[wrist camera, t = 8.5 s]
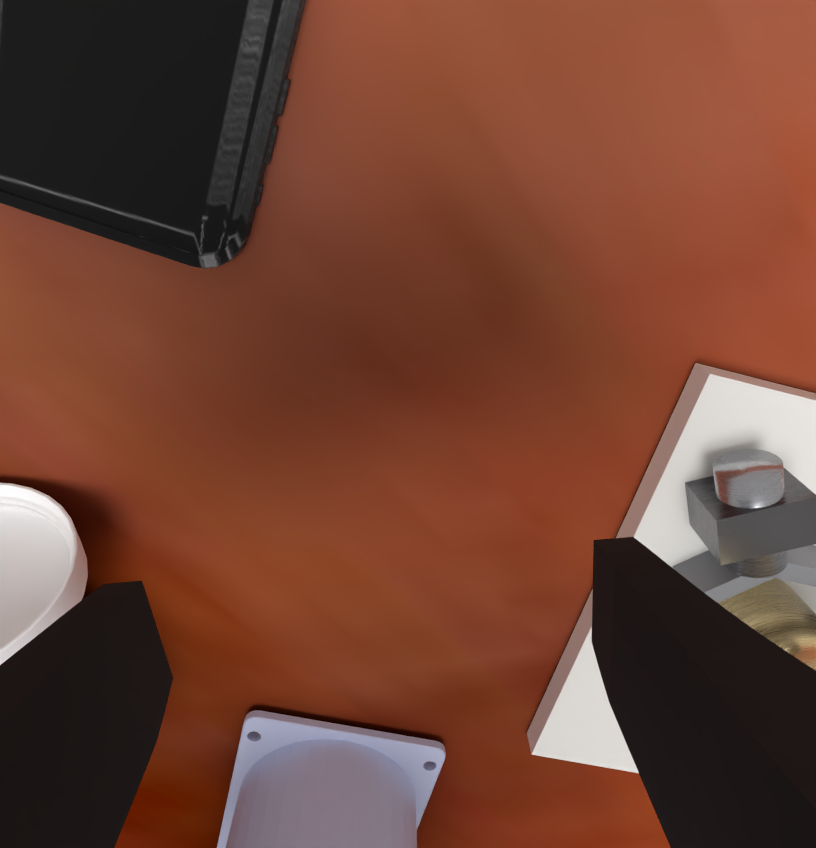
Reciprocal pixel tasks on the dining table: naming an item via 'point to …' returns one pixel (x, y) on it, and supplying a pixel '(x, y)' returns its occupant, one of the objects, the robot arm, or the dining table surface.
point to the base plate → (681, 540)
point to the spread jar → (36, 565)
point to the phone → (144, 116)
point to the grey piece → (751, 512)
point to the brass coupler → (778, 617)
